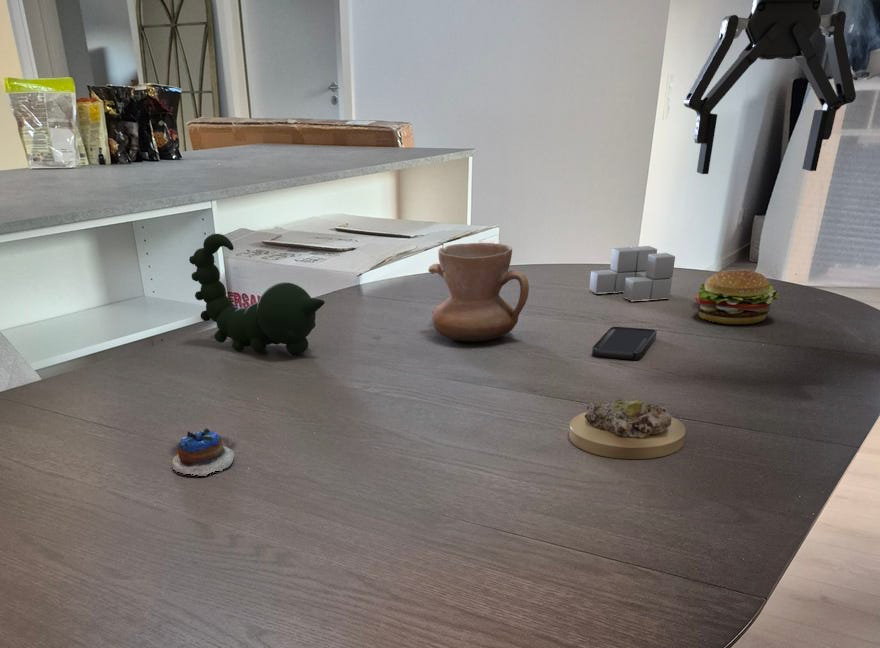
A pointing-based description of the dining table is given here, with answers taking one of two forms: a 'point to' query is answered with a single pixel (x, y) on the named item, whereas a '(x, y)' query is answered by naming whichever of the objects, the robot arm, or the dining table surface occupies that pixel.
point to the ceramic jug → (476, 292)
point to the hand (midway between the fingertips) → (755, 171)
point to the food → (735, 297)
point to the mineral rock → (628, 418)
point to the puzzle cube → (636, 273)
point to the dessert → (202, 453)
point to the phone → (624, 343)
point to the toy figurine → (253, 307)
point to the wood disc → (626, 440)
